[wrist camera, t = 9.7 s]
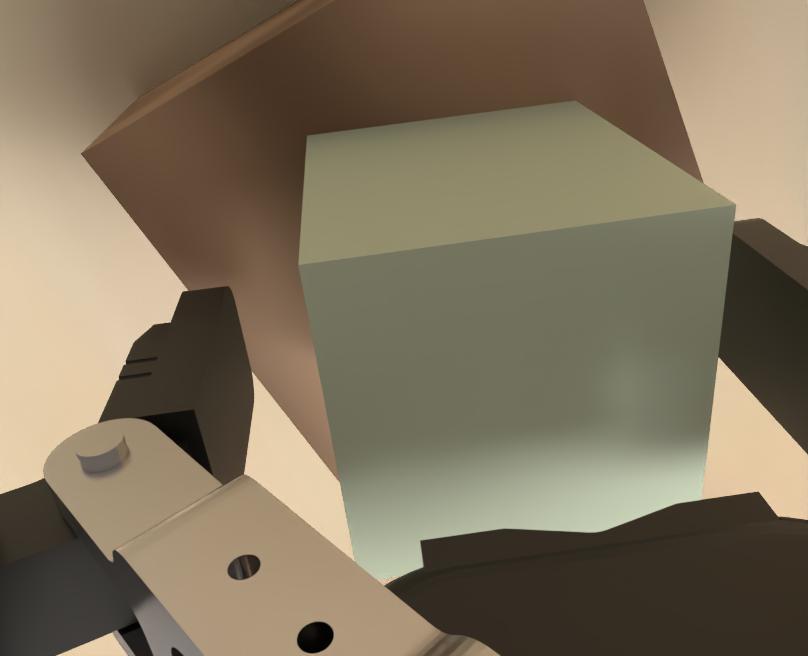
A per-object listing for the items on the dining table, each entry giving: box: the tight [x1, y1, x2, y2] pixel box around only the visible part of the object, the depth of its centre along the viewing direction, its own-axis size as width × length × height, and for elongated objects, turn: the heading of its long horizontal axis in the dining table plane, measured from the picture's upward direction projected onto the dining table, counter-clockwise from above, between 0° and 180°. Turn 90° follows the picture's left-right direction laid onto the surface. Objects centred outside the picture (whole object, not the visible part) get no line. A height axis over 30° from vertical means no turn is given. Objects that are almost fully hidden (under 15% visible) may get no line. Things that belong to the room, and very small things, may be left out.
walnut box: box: [81, 0, 704, 482], centre depth 17 cm, size 10×10×5 cm
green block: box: [298, 101, 736, 580], centre depth 12 cm, size 5×5×6 cm
